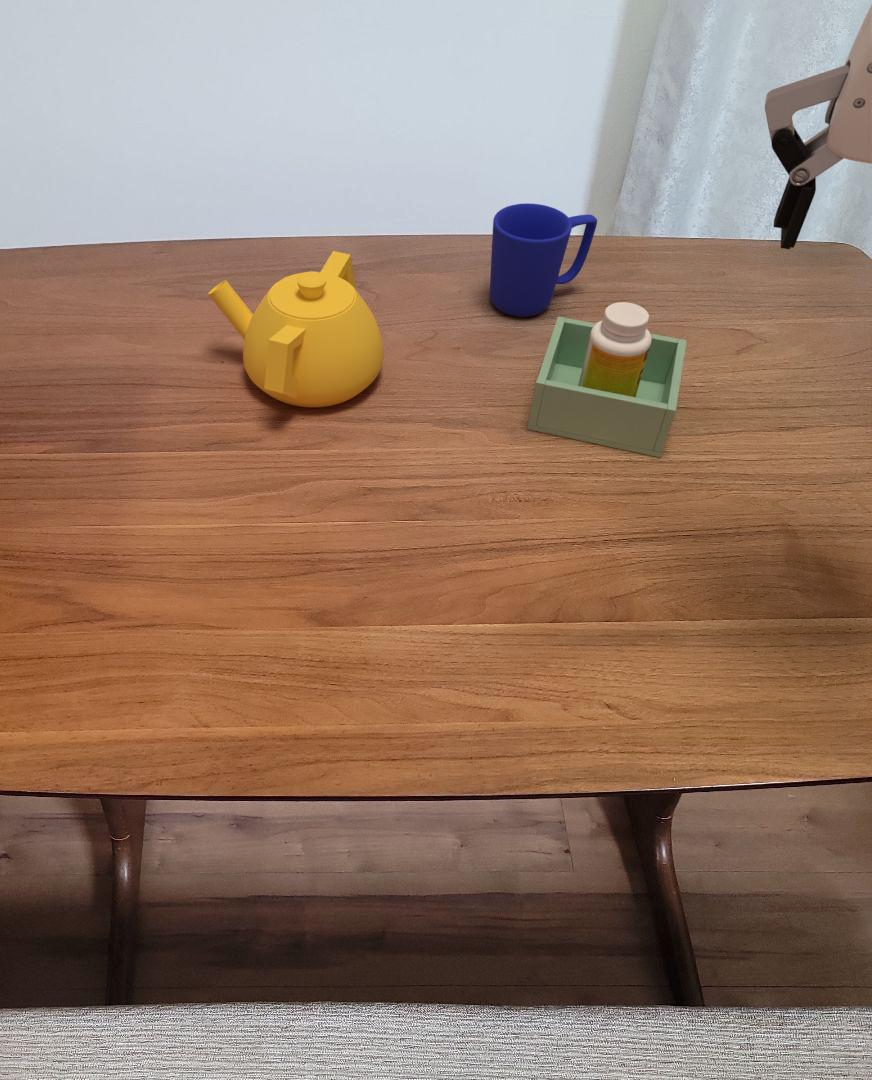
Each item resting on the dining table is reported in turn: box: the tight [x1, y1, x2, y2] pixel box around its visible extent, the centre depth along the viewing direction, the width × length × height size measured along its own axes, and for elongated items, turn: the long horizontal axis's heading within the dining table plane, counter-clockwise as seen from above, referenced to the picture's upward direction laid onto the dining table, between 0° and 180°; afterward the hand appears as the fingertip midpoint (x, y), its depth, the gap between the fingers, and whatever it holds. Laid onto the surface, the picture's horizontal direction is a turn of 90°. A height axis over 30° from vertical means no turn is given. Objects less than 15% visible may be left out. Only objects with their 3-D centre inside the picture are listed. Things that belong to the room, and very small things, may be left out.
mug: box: [489, 203, 598, 318], centre depth 102 cm, size 8×12×10 cm
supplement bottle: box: [578, 301, 652, 397], centre depth 88 cm, size 6×6×10 cm
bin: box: [526, 316, 688, 458], centre depth 90 cm, size 13×12×6 cm
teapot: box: [207, 250, 384, 408], centre depth 92 cm, size 20×18×11 cm
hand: (868, 251), depth 57 cm, fingers open, 9 cm apart
